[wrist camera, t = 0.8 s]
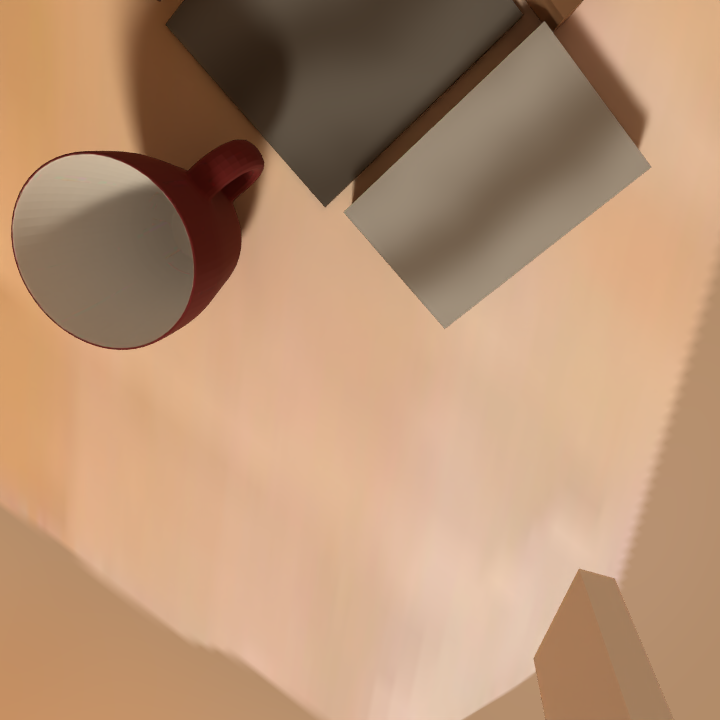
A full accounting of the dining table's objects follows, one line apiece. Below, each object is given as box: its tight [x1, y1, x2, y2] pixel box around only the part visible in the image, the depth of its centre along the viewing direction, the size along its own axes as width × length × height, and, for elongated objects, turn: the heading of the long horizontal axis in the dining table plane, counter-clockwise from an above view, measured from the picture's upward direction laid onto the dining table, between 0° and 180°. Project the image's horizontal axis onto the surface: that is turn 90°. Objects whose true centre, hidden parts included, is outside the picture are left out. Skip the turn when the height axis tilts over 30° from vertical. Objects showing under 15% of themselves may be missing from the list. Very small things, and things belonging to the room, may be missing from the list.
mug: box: [11, 139, 264, 350], centre depth 26 cm, size 10×8×10 cm
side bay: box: [158, 0, 651, 329], centre depth 25 cm, size 23×14×3 cm, turn 42°
